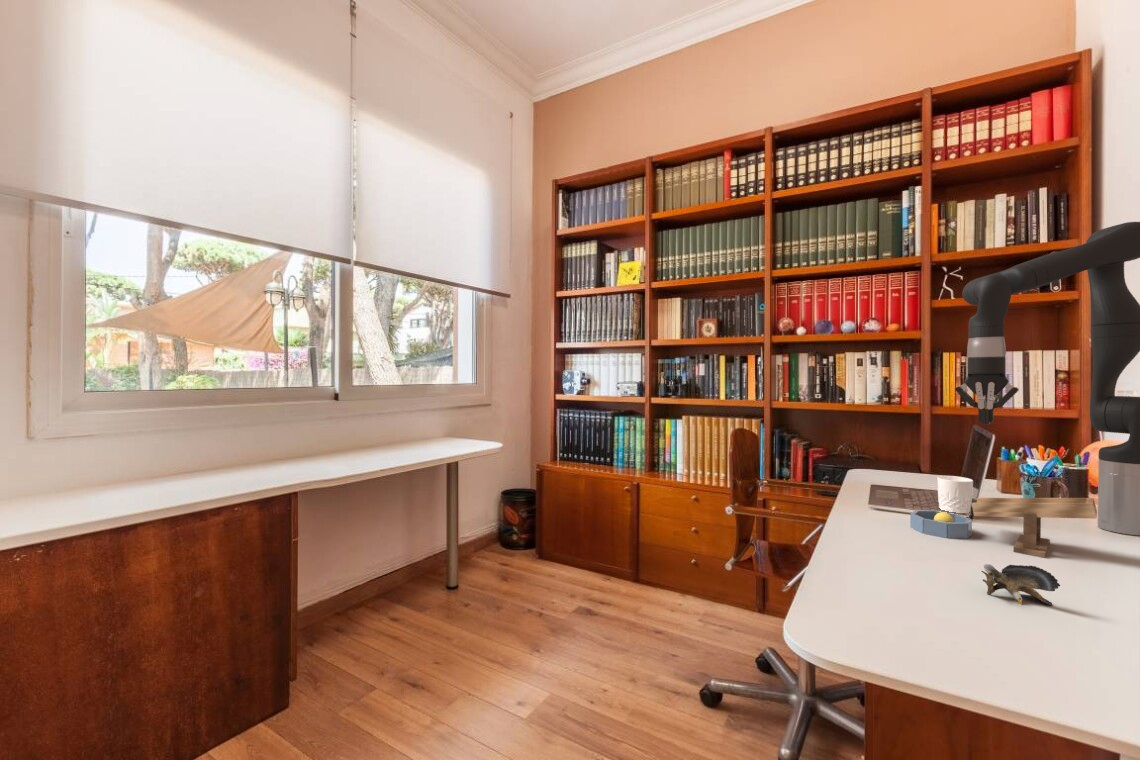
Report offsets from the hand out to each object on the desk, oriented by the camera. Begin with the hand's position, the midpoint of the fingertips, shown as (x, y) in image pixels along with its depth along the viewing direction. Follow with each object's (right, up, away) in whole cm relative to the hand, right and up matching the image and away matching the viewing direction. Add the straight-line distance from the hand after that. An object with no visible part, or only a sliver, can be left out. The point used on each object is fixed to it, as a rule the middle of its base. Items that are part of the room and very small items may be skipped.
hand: (986, 423), depth 129 cm
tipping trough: (0, -19, -14) cm, 23 cm away
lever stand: (-3, -26, -16) cm, 31 cm away
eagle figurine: (-29, -27, -42) cm, 57 cm away
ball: (-14, -24, -4) cm, 27 cm away
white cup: (0, -26, +11) cm, 28 cm away
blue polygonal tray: (-14, -26, -3) cm, 30 cm away
